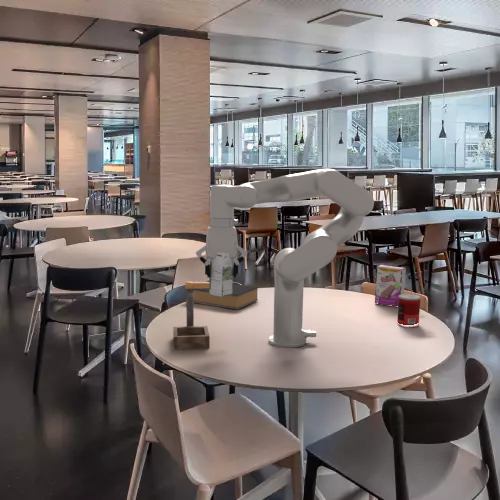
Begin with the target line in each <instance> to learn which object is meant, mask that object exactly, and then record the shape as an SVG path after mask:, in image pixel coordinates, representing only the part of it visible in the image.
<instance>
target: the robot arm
mask: <svg viewBox="0 0 500 500" xmlns="http://www.w3.org/2000/svg"><path fill="white" fill-rule="evenodd" d="M209 193H210V194H209V195H210V197H209V198H210V200H209V201H210V202H209V205H210V207H209V208H210V211H209V212H210V214H209V215H210V219H209V225H210V226H208V227H207V231H206V239H205V240H206V241H205V245H204V246H203V247H201V248H199V249H198V250H197V251H196V252H195V255H196V256H197V257H198V259H199V260H200V262H202V263H203V265H204V275H205V276H207V277H206V278H207V279H209V277H210V261H211V260H212V259H215V258H216V256H217V252H224V253H229V258H232V259H233V261H234V275H233V278H237V275H239V266H240V264H241V263H242V262H243V261H244V259H245V258H246V257H247V255H248V251H247V250H245V249H243V248H242V247H241V246H240V245H238V237H237V235H238V233H237V229H236V227H235V225H236V224H237V225H238V224H239V219H235V218H234V217H235V213H234V212H235V208H240V209H247V210H248V209H251V208H253V207H255V206H256V205H260V204H264V203H269V202H270V203H271V202H285V203H286V202H287V203H289V202H296V201H301V200H307V199H313V198H319V197H326V198H327V199H329V200H330V201H331V202H333V203H334V204H336V205H338V206H339V207H340V209H339V212H338V213H337V214H336V216H334V217H333V218H332V219H330V220H329V221H328V222H326V223H325V224H323V225H322V226H320V227H318V228H317V229H315V230H314V231H312V232H310V233H308V234H307V235H306V236H305V237H304V240H303V243H302V244H301V245H299V246H298V247H297V248H293V247H286V248H283V249H281V250H279V252H278V253H277V254H276V256H275V258H274V261H273V262H274V263H273V273H274V275H273V276H274V292H273V293H274V295H273V334H272V335H270V336H269V337H268V342H269V344H270V345H272V346H274V347H279V348H288V349H289V348H290V349H291V348H292V349H293V348H301V347H303V346H304V345H306V344H307V338H317V332H316V330H315V331H314V330H312V331H311V329H304V327H303V315H304V314H303V312H304V311H303V310H304V308H303V307H304V280H305V279H307V278H308V277H311V275H313V274H315V273H316V272H318V271H319V270H321V269H323V268H324V267H326V266H327V265H328V264H330V263H331V262H332V261H333V260H334V259H335V258H336V255H337V252H338V248H340V246H342V245H343V244H344V243H346V242H347V241H349V240H350V239H351V238H353V237H354V236H355V235H356V234H357V233H358V231H359V230H360V228H361V227H362V224H363V223H364V218H365V217H366V216H367V215H369V214H370V213H371V212H372V211H373V209H374V205H375V201H374V197H373V195H372V194H371V193H370V191H368V190H367V189H365V188H364V187H362V186H360V185H359V184H357V183H356V182H354V181H353V180H352V179H350V178H349V177H347V176H346V175H344V174H342V173H341V172H340V171H338V170H336V169H333V168H321V169H314V170H309V171H304V172H298V173H293V174H287V175H281V176H278V177H273V178H267V179H263V180H261V179H260V180H257V181H251V182H245V183H241V184H240V185H239V184H238V185H230V184H213V185H211V188H210V192H209ZM204 252H205V255H206V258H205V257H204V256H203V255H202V254H203V253H204ZM239 252H240V253H241V255H240V256H239V257H238V253H239ZM237 257H238V258H237Z"/></svg>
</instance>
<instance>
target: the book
mask: <svg viewBox="0 0 500 500" xmlns="http://www.w3.org/2000/svg"><path fill="white" fill-rule="evenodd" d="M205 282H209V280H206V281H205ZM258 289H259V288H258V287H257V286H253V285H252V286H251V285H244V284H239V283H238V284H236V283H233V294H231V295H227V296H223V297H220V296H215V295H211V294H209V288H194V304H195V303H196V304H201V305H207V306H214V307H220V308H226V309H227V308H228V309H233V310H240V309H241V308H244V307H246V306H248V305H251V304H253V303H255V302H258Z"/></svg>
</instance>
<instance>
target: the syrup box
mask: <svg viewBox="0 0 500 500" xmlns="http://www.w3.org/2000/svg"><path fill="white" fill-rule="evenodd" d="M209 265H210V277H209V278H208V279H209V280H208V281H209V294H211V295H215V296H220V297H223V296H227V295H231V294H233V284H234V276H233V275H234V261H233V259H232V258H229V253H224V252H217V256H216V258H215V259H212V260H211V261H210V263H209Z"/></svg>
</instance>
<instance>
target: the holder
mask: <svg viewBox="0 0 500 500" xmlns="http://www.w3.org/2000/svg"><path fill="white" fill-rule="evenodd" d="M185 293H186V326H173V328H172V329H173V330H172V332H173V335H172V336H173V350H195V349H198V350H199V349H210V344H211V343H210V337H211V336H210V332H209V328H208V325H199V326H198V325H196V326H195V324H194V323H195V322H194V309H195V308H194V304H195V303H194V289H186V291H185Z"/></svg>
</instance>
